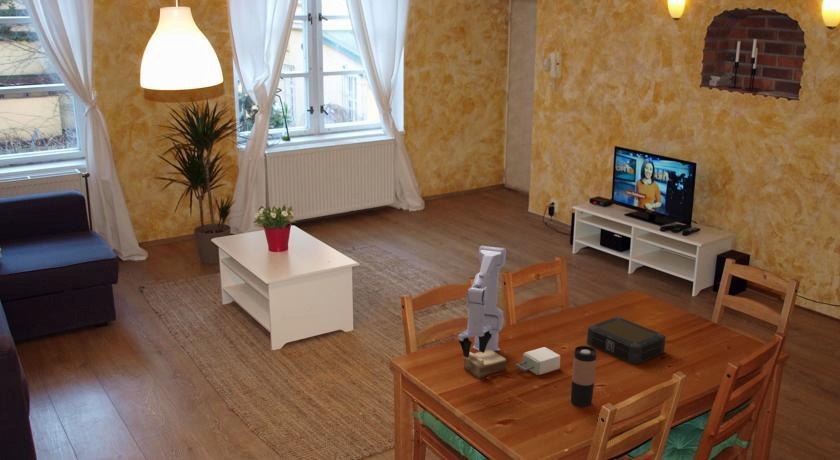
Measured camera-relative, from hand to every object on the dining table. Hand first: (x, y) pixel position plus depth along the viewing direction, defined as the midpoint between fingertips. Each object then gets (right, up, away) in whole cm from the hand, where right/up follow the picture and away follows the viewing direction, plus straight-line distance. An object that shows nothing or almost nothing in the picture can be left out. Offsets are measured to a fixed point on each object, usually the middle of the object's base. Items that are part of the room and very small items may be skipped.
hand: (474, 354), depth 297 cm
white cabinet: (+26, -8, +12) cm, 30 cm away
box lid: (+5, -3, +9) cm, 11 cm away
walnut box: (+5, -8, +11) cm, 14 cm away
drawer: (+23, -8, +10) cm, 27 cm away
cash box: (+63, -3, +33) cm, 71 cm away
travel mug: (+37, -15, -11) cm, 41 cm away
